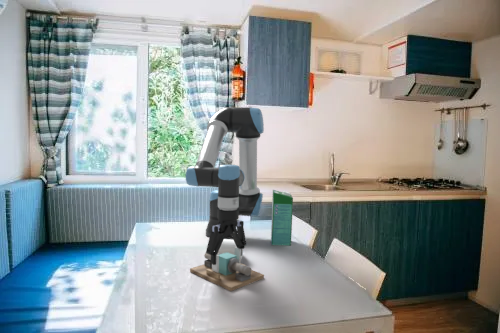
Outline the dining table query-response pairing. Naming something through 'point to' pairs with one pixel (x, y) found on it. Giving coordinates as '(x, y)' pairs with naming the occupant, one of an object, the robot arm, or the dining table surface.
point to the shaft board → (230, 282)
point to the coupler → (225, 262)
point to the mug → (228, 247)
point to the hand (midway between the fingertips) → (226, 268)
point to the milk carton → (281, 218)
